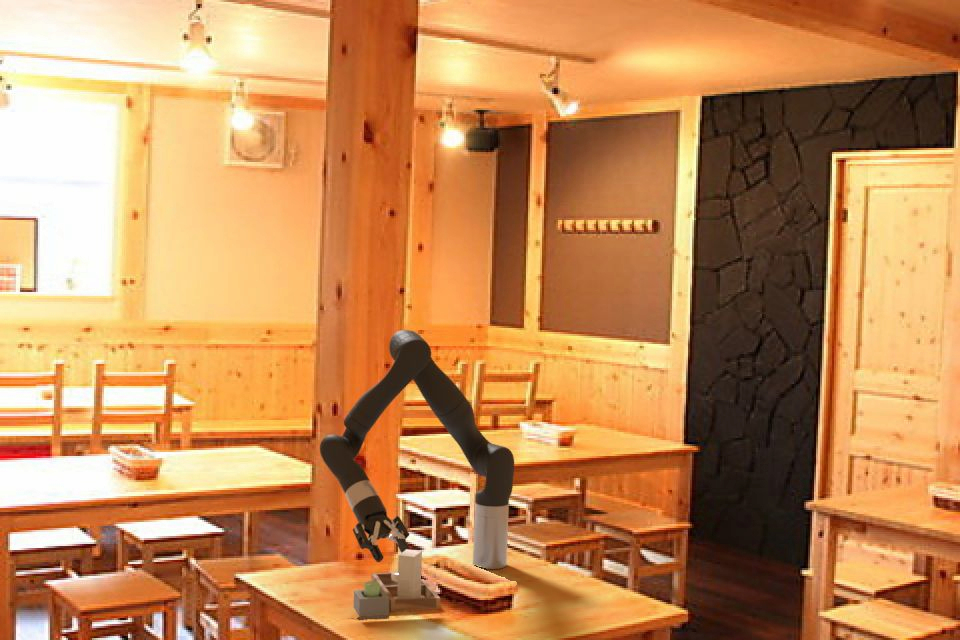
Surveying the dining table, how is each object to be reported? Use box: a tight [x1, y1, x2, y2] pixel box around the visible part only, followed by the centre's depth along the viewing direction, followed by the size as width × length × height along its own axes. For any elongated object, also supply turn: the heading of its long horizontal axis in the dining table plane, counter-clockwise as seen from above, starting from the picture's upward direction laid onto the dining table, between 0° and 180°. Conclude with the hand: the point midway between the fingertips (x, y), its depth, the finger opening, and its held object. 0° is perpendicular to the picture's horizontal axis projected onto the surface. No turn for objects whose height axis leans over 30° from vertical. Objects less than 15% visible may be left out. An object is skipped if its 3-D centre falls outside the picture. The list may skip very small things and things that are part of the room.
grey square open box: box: [353, 589, 390, 621], centre depth 284 cm, size 7×7×5 cm
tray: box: [371, 572, 441, 612], centre depth 297 cm, size 23×12×4 cm, turn 17°
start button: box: [363, 580, 380, 597], centre depth 283 cm, size 4×4×4 cm
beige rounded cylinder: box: [390, 570, 398, 585], centre depth 302 cm, size 4×4×4 cm
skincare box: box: [397, 549, 423, 599], centre depth 291 cm, size 6×4×12 cm
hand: (394, 557), depth 295 cm, fingers open, 8 cm apart
